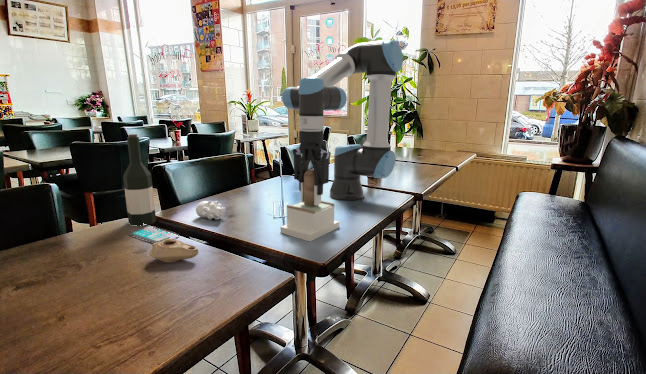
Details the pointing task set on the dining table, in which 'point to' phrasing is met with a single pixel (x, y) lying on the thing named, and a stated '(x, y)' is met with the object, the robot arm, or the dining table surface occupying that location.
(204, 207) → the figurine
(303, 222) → the display stand
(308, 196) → the brown domed cylinder
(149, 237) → the smartphone
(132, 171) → the wine bottle
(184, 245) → the pottery oil lamp
